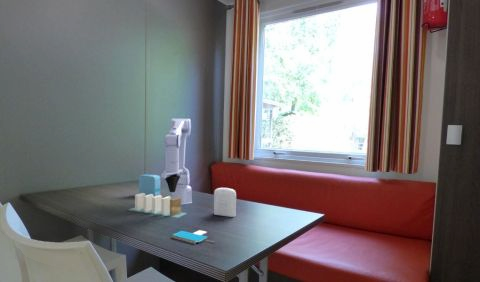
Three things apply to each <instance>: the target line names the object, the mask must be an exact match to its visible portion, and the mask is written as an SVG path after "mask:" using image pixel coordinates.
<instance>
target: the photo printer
mask: <svg viewBox="0 0 480 282" xmlns="http://www.w3.org/2000/svg"><path fill="white" fill-rule="evenodd" d="M236 191H237V190H235V189H233V188H229V187H217V188H216V189H214V192H213V215H214V216H221V217H222V216H223V217H228V218H230V217H231V218H234V217H236V215H237V214H236V213H237V211H236V210H237V192H236Z"/></svg>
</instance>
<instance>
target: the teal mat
mask: <svg viewBox="0 0 480 282" xmlns="http://www.w3.org/2000/svg"><path fill="white" fill-rule="evenodd" d="M128 211H133V212H140V213H145V214H146V213H147V214H151V215H159V216H165V217H171V218H181V217H182V216H185V215H187V214H188V213H186V212H182V211H181V213H180V214H177V215H174V216H171V215H170V212H169V213H167V214H164V215H163V214H161V211H159V212H157V213H152V210H150V211H147V212H144V211H143V209H141V210H135V207H132V208H130V209H128Z"/></svg>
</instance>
